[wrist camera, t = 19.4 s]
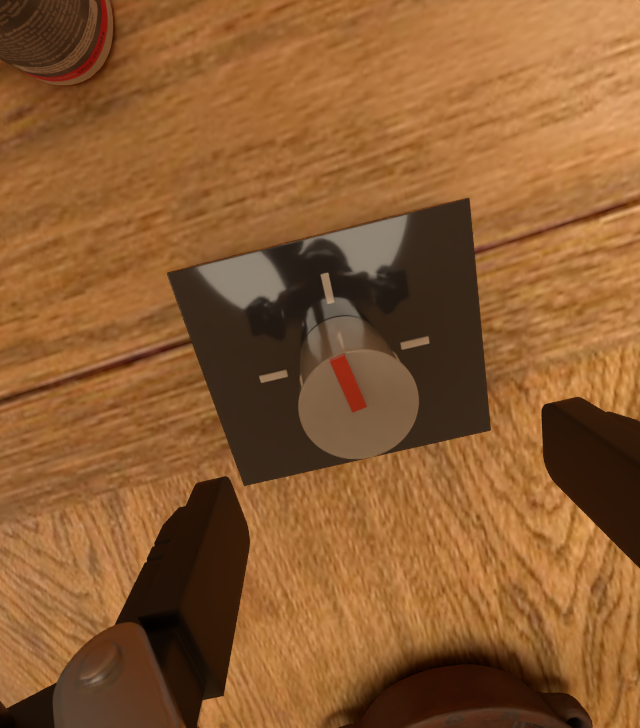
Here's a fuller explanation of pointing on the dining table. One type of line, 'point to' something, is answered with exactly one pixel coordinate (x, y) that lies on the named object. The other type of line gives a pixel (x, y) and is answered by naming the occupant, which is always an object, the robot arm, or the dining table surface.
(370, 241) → the black dial box
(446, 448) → the dining table surface
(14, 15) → the pill bottle
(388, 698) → the dish
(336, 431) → the stove knob
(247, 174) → the dining table surface
